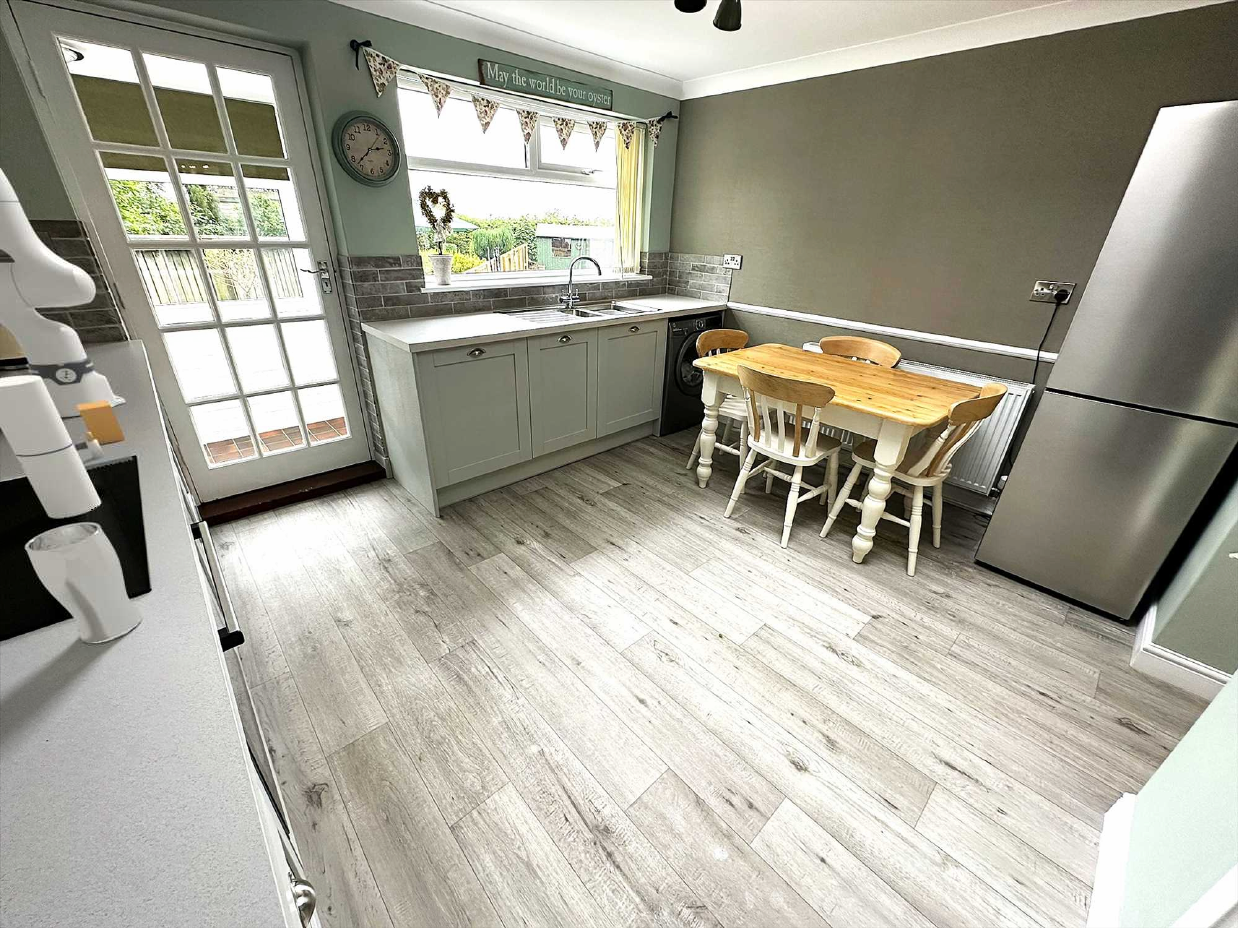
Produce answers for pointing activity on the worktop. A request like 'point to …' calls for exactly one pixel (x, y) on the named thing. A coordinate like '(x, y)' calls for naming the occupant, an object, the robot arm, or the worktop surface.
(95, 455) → the tan-tipped white capsule
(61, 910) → the worktop surface
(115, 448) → the plate
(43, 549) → the beer glass
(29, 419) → the cylindrical container
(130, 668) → the worktop surface
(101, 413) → the orange rectangular block
